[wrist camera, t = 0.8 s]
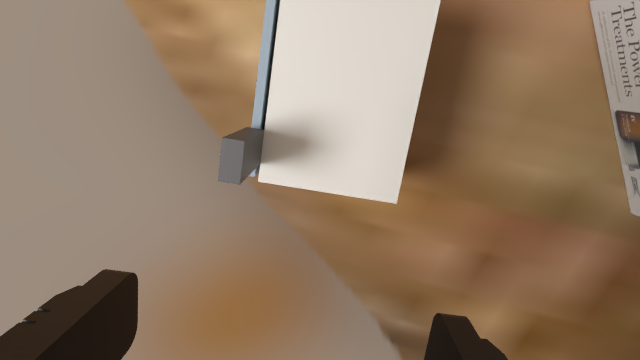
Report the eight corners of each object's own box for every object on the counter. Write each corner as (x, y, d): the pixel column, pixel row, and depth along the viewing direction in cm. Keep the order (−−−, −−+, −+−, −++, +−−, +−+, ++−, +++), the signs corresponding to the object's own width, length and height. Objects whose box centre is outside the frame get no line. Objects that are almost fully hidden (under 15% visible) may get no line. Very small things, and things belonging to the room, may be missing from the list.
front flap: (284, 2, 32) (242, -80, 17) (297, 4, 32) (268, -75, 17) (265, 152, 36) (216, 198, 20) (277, 154, 36) (238, 202, 20)
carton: (298, 3, 33) (284, -34, 23) (409, 22, 33) (442, -8, 23) (277, 157, 36) (258, 181, 26) (378, 173, 36) (396, 203, 26)
